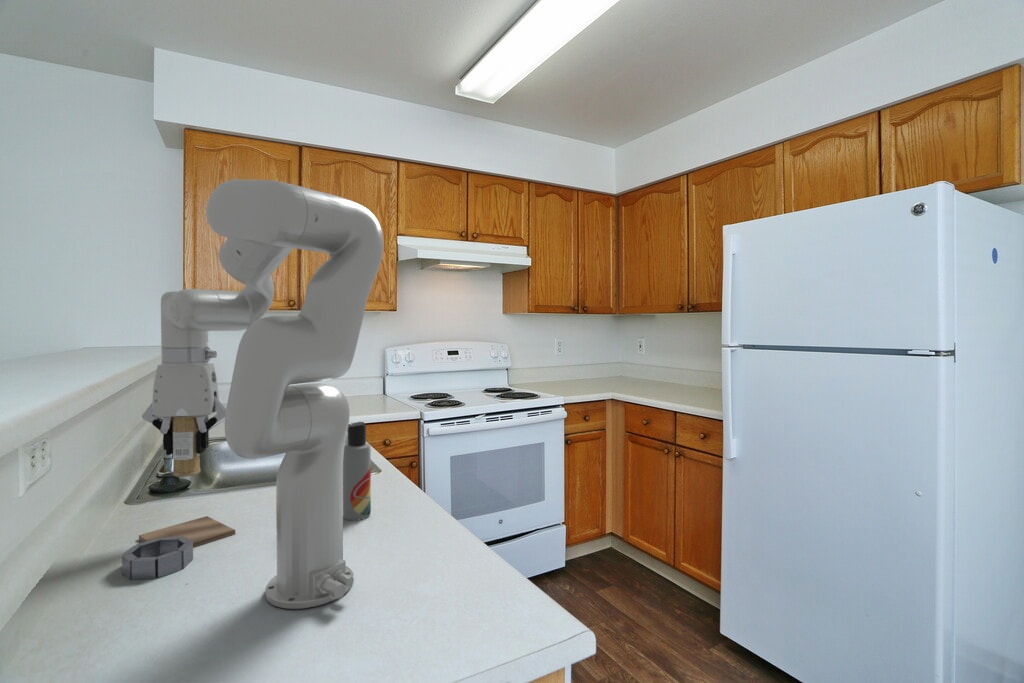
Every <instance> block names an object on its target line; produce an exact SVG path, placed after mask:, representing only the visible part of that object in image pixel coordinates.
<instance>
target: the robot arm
mask: <svg viewBox="0 0 1024 683" xmlns="http://www.w3.org/2000/svg"><path fill="white" fill-rule="evenodd" d="M205 210H206V219H207V223H208V225H209V227H210V228H211V229H212V231H213V232H214V233H216V234H217V235H219V236H221V237H223V238H226V240H225V241H224V242H223V244H221V246H220V247H219V250H218V259H219V260H218V261H219V262H220V265H221V267H222V268H223V269H224V271H225V272H226V273H227V274H228V275H229V276H230V277H232V278H233V279H234V280H236V281H237V282H239V283H241V284H243V285H244V286H245V287H243V289H241V290H239V291H237V290H225V289H224V290H221V289H219V290H218V289H202V288H185V289H184V288H183V289H180V290H179V291H176V290H175V291H173V290H172V291H167V292H164V293H163V294H162V295H161V297H160V339H161V340H160V341H161V342H160V343H161V346H160V349H161V354H160V355H161V356H160V357H161V364H157V367H156V371H155V376H154V382H153V388H152V399H151V401H152V402H151V403H150V405H148V407H147V408H146V410H145V411H144V413H143V414H142V415H141V418H142V420H144V421H146V422H147V423H150V424H152V425H153V426H154V427H155V428H156V429H157V430H158V431H159V432H160V434H161V435H162V436H163V437H162V438H163V444H162V446H163V448H162V449H163V450H164V451H165V454H166V456H170V455H171V456H172V455H173V418H174V417H178V416H176V413H177V411H178V410H179V409H184V410H185V411H186V412H187V414H188V416H189V417H196V420H197V423H198V427H199V432H198V433H197V434H196V452H197V453H198V454H200V455H201V454H202V453H204V452H206V450H207V449H208V448H209V445H210V443H209V442H210V440H209V439H210V438H209V437H210V436H209V435H210V433H209V432H210V431H209V430H211V428H213V427H214V426H215V425H216V424H217V423H218V422H219V421H221V420H222V419H223V418H224V434H225V439H226V443H227V445H228V447H229V448H230V451H231V452H232V453H234V454H235V455H236V456H237V457H240V458H241V459H246V460H258V459H264V458H270V457H272V456H277V455H281V454H282V455H283V454H284V456H283V458H282V460H281V462H280V465H279V467H278V471H277V476H276V483H275V486H276V487H275V488H276V489H275V490H276V491H275V492H276V495H275V499H276V500H275V501H276V502H275V505H276V507H275V508H276V510H275V511H276V517H275V518H276V519H275V520H276V526H275V527H276V575H274V576H273V577H272V578H271V580H270V581H268V582H267V584H266V586H265V598H266V600H267V602H268V603H270V604H271V605H273V606H274V607H277V608H281V609H288V610H300V609H308V608H309V609H310V608H314V607H318V606H322V605H325V604H328V603H331V602H332V601H335V600H337V599H342V598H343V597H344V596H345V594H346V593H347V592H348V591H349V590H350V589H351V587H352V586H353V584H354V582H355V580H354V572H353V570H352V569H351V568H350V567H349V566H347V565H346V560H344V525H343V524H344V517H343V455H344V446H345V445H346V438H347V430H348V425H349V424H350V415H351V414H350V405H349V402H348V399H347V397H346V396H345V394H344V393H343V391H341V389H339V388H338V387H336V386H333V385H331V384H327V383H320V382H324V381H330V380H331V381H332V380H335V379H338V378H341V377H343V376H344V375H345V374H346V373H348V372H349V370H350V368H351V366H352V363H353V360H354V357H355V354H356V351H357V350H356V349H357V345H358V341H359V337H360V334H361V333H360V332H361V329H362V324H363V319H364V317H365V314H366V313H365V312H366V307H367V302H368V298H369V295H370V293H371V290H372V287H373V284H374V282H375V280H376V278H377V275H378V272H379V270H380V267H381V263H382V260H383V256H384V249H385V248H384V247H385V246H384V245H385V244H384V243H385V241H384V240H385V239H384V234H383V230H382V226H381V225H380V222H379V220H378V219H377V217H376V216H375V214H374V213H372V211H370V210H369V209H368V208H367V207H365V206H364V205H362V204H360V203H358V202H356V201H353V200H350V199H348V198H345V197H341V196H339V195H335V194H331V193H327V192H323V191H319V190H316V189H311V188H307V187H304V186H300V185H296V184H293V183H288V182H284V181H281V180H273V179H242V178H241V179H239V178H238V179H237V178H233V179H227V180H225V181H222V183H220V184H218V185H217V186H216V187H215V188H214V189H213V191H212V192H211V193H210V196H209V198H208V200H207V203H206V209H205ZM294 249H296V250H297V249H298V250H304V251H310V252H318V253H326V254H328V256H329V259H327V260H326V261H325V262H324V263H322V264H321V266H319V267H318V269H317V270H316V271H315V272H314V274H313V275H312V277H311V278H310V279H309V282H308V284H307V287H306V290H305V295H304V301H303V304H302V307H301V310H300V312H299V313H298V314H297V315H271V316H270V315H269V316H265V317H264V315H265V314H266V313H267V312H268V311H269V309H270V308H271V307H272V303H273V299H274V296H275V295H274V294H275V292H274V291H275V285H274V284H275V283H274V281H273V276H272V275H273V273H274V272H275V271H276V270H277V268H278V267H279V266H280V265H281V264H282V262H283V261H285V259H286V258H287V257H288V256H289V255H290V253H291V252H293V250H294ZM211 331H212V332H218V331H220V332H221V331H222V332H224V331H225V332H228V331H230V332H231V331H232V332H233V331H234V332H235V331H236V332H237V331H238V332H239V331H240V332H241V331H244V332H243V335H242V336H241V339H240V340H239V344H238V347H237V350H236V351H237V352H236V357H235V361H234V367H233V372H232V376H231V377H232V379H231V381H230V382H231V383H230V387H229V393H228V398H227V404H226V408H225V406H224V405H223V403H221V402H220V401H221V400H220V398H219V397H220V396H219V387H218V379H217V372H216V368H215V364H214V363H210V360H211V359H214V358H217V356H218V353H217V350H211V349H210V347H209V332H211ZM316 382H317V383H316ZM214 413H216V414H215V415H213V416H212V417H209V415H211V414H214Z"/></svg>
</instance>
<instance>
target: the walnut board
mask: <svg viewBox="0 0 1024 683" xmlns="http://www.w3.org/2000/svg"><path fill="white" fill-rule="evenodd" d="M234 535H236V529H234V528H233V527H230V526H228V525H226V524H224V523H222V522H220V521H218V520H216V519H214V518H212V517H209V516H203V517H199V518H195V519H192V520H188V521H184V522H181V523H177V524H174V525H170V526H167V527H163V528H159V529H156V530H152V531H149V532H146V533H141V534H138V540H139V541H141V543H143V542H147V541H150V540H154V539H157V538H162V537H180V536H183V537H186V538H188V539H190V540H191V541H193V548H196V547H199V546H203V545H205V544H209V543H212V542H215V541H219V540H222V539H225V538H227V537H230V536H234Z"/></svg>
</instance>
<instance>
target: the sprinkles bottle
mask: <svg viewBox="0 0 1024 683" xmlns="http://www.w3.org/2000/svg"><path fill="white" fill-rule="evenodd" d="M176 416H178V417H174V418H173V453H172V458H173V459H172V461H173V462H172V463H173V467H172V470H173V472H172V475H173V476H174V477H177V478H186V477H192V476H196V475H198V474H200V473H201V471H202V469H201V464H200V463H201V462H200V457H201V454H198V453H197V452H196V434H197V433H198V432H199V427H198V423H197V420H196V417H189V416H188V414H187V412H186V411H185V410H184V409H179V410H178V411H177V413H176Z"/></svg>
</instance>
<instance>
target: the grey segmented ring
mask: <svg viewBox="0 0 1024 683" xmlns="http://www.w3.org/2000/svg"><path fill="white" fill-rule="evenodd" d="M193 560H194V547H193V541H191V540H190V539H188V538H186V537H183V536H180V537H162V538H157V539H154V540H150V541H147V542H141V543H136V545H133V546H131V547H130V548H129V549H127V550H126V551H124V552H123V553H122V554H121V574H122V575H123V574H124V576H125V577H126V578H127V579H128V580H131V581H136V580H138V581H139V580H149V579H153V580H154V579H157V578H158V579H159V578H162V577H164V576H168V575H170V574H172V573H176V572H179V571H182V569H185V568H186V567H187V566H188V565H189V564H190V563H191V562H192V561H193Z"/></svg>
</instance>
